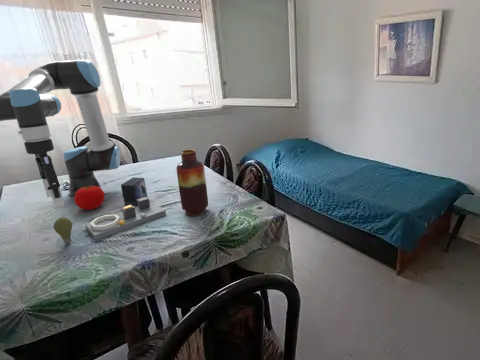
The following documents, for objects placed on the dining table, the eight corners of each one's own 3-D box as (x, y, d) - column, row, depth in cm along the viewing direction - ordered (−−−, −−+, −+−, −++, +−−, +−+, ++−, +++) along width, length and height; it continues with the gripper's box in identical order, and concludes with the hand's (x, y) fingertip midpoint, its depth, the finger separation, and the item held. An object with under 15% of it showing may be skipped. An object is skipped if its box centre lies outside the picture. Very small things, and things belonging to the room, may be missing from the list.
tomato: (72, 212, 133) (66, 190, 130) (93, 201, 144) (88, 180, 141) (91, 214, 130) (85, 192, 126) (111, 203, 140) (106, 182, 137)
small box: (137, 206, 134) (132, 185, 131) (124, 206, 136) (119, 185, 132) (148, 197, 144) (144, 177, 141) (136, 197, 145) (132, 177, 142)
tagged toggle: (123, 216, 120) (121, 207, 118) (133, 213, 122) (131, 204, 121) (126, 219, 118) (124, 209, 116) (136, 215, 120) (134, 206, 118)
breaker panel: (86, 228, 117) (84, 220, 116) (152, 205, 134) (151, 198, 133) (96, 240, 108) (93, 231, 107) (166, 214, 124) (164, 206, 123)
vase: (213, 207, 128) (207, 148, 119) (202, 218, 118) (194, 155, 110) (190, 205, 132) (182, 147, 123) (177, 216, 122) (168, 154, 113)
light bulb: (63, 240, 109) (56, 215, 106) (79, 238, 110) (72, 214, 106) (56, 248, 104) (48, 222, 101) (72, 246, 104) (65, 221, 101)
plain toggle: (138, 207, 128) (136, 199, 126) (147, 204, 130) (145, 196, 129) (141, 209, 125) (139, 201, 124) (150, 206, 128) (148, 198, 127)
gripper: (19, 137, 101) (37, 195, 108) (28, 146, 83) (49, 215, 90) (44, 133, 106) (60, 189, 113) (59, 141, 88) (76, 207, 95)
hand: (55, 201), depth 101 cm, fingers open, 13 cm apart
